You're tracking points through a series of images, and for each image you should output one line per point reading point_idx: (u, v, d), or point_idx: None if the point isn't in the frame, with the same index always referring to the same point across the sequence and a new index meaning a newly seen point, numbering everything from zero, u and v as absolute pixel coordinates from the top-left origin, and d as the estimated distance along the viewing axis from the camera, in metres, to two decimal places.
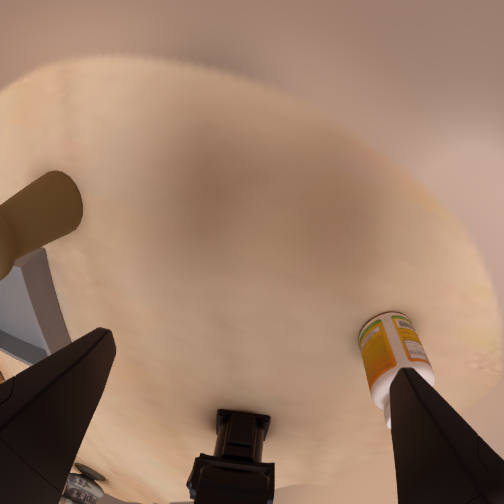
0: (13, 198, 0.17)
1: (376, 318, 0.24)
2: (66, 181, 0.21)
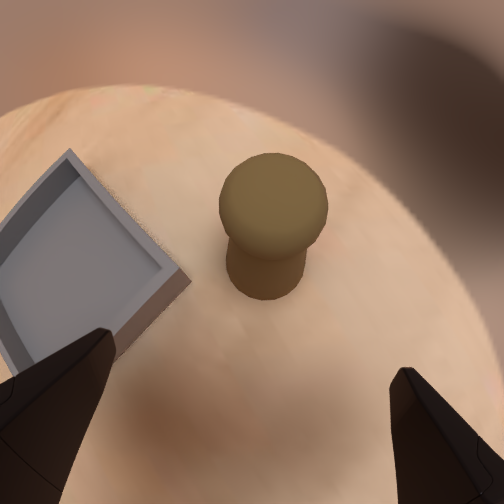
0: None
1: None
2: None
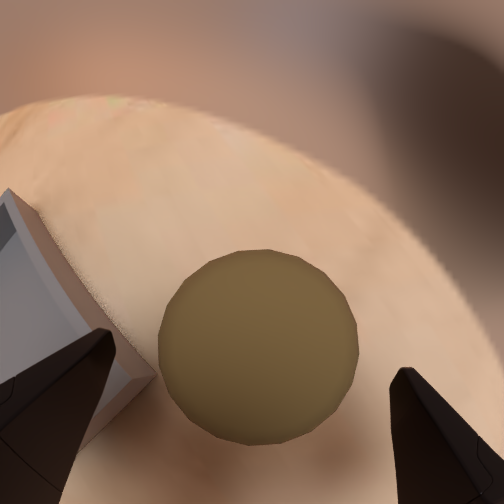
0: None
1: None
2: None
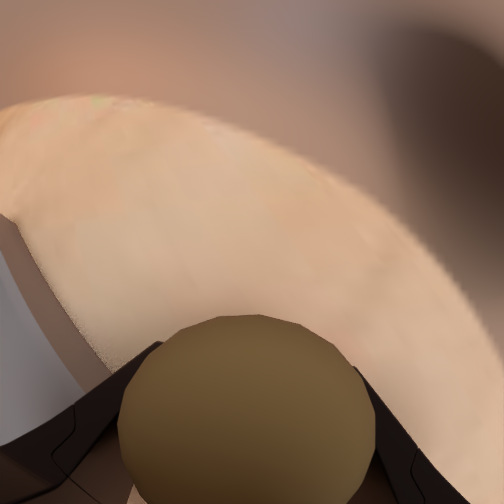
0: None
1: None
2: None
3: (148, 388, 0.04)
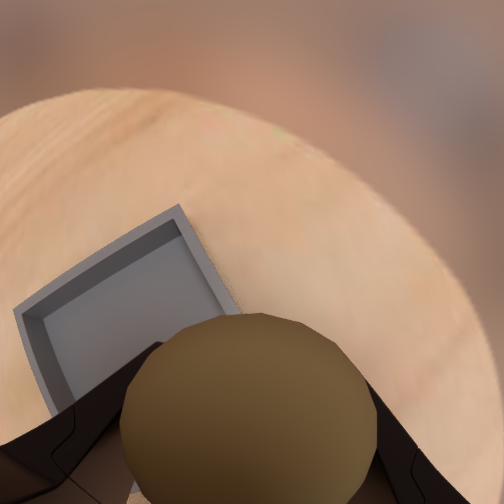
0: None
1: None
2: None
3: (150, 386, 0.04)
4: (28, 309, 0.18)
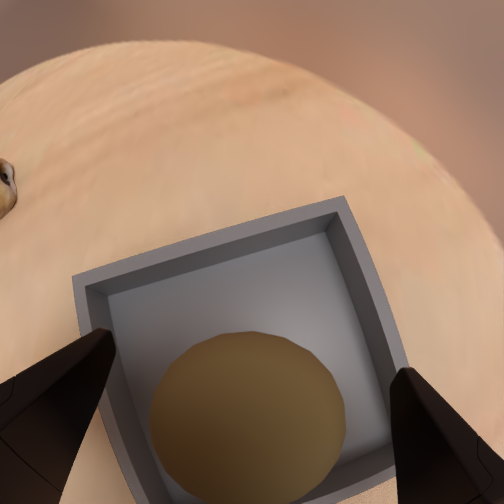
0: None
1: None
2: None
3: (173, 390, 0.06)
4: (97, 282, 0.15)
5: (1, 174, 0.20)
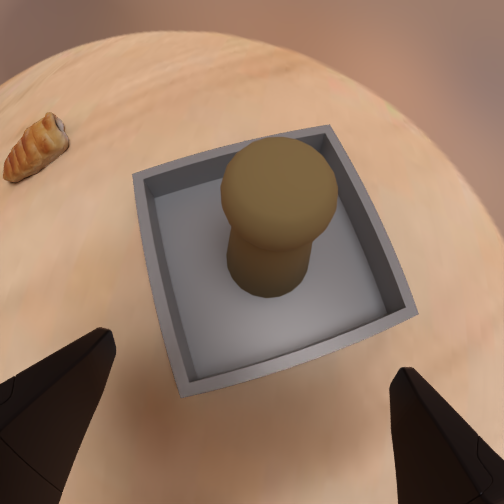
0: None
1: None
2: None
3: (242, 153, 0.12)
4: (154, 176, 0.21)
5: (56, 124, 0.26)
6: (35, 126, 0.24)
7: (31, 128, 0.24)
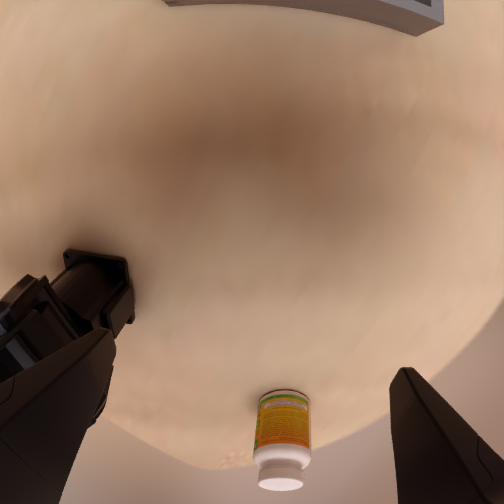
0: None
1: (306, 399, 0.27)
2: None
3: None
4: None
5: None
6: None
7: None
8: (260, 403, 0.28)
